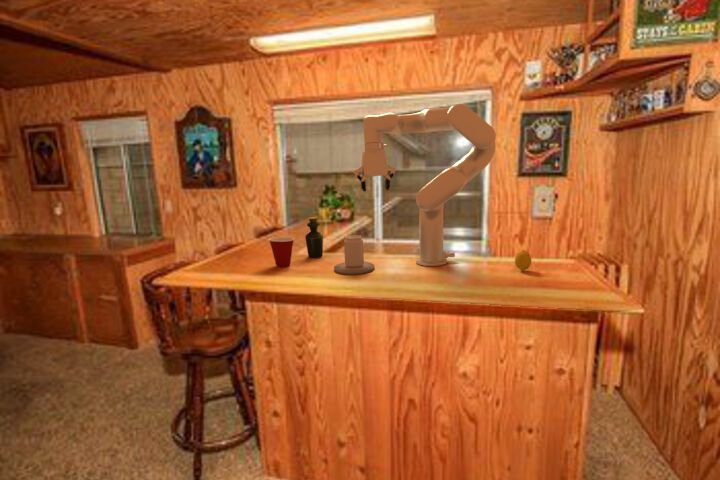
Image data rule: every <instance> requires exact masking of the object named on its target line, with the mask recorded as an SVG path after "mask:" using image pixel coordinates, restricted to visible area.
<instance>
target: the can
mask: <svg viewBox="0 0 720 480" xmlns="http://www.w3.org/2000/svg"><path fill="white" fill-rule="evenodd" d="M343 250H344V262H345V265H346V266H347V267H349V268H359V267H361V266H362V265H363V264H364V262H365V258H364V257H365V256H364V239H362V236H361V235H357V234H356V235H346V236H345V239H344V241H343Z"/></svg>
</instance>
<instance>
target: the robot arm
mask: <svg viewBox="0 0 720 480" xmlns="http://www.w3.org/2000/svg"><path fill="white" fill-rule="evenodd" d="M362 125H363V140H364V141H363V143H364V144H363V145H364V151H363V152H362V156H361V166H360V167H358V168H357V169H355V170H354V171H353V173H354V175H355V177H356V178H357V180H359V181H360V185H361V186H360V187H361V190H362V191H363V192H366V191H367V187H366V186H367V185H366V184H367V183H366V179H367V178H368V177H382V176H383V177H384V178H385V180H384V184H385V185H384V187H385V190H386V191H389V190H390V188H391V179H392V178H393V177H394V175H395V173H396V170H397V169H396V168H394V167H393V166H391V165H389V164H388V161H387V159H388V158H387V154H386V151H385V150H384V149H386V148H387V144H385V143H384V138H383V134H391V135H403V134H404V135H405V134H420V133H424V134H425V133H432V132H448V131H457V133H459V134H460V135H461V136H462V137H464V138H465V139H466V140H467V141H468V142H469V143H470V144H472V147H471V149H470V151H469V152H467V153H466V154H465V155H464V156H463V157H462V158H461V159H459V160H458V161H456V163H455V164H453V165H452V166H450V167H447V168H446V169H444V170H443V171H442V172H440V173H439V174H438V175H437V176H435V178H433V179H432V180H431V181H429V182H428V183H427V184H425V185H424V186H423V187H422V188H420V190H419V191H418V192H417V194H416V199H415V201H416V205H417V207H418V208H419V213H418V215H419V216H418V217H419V221H418V224H419V225H418V227H419V233H418V234H419V235H418V236H419V257H418V258H416V260H415V262H416V264H417V265H419V266H425V267H439V266H443V265H447V264H448V258H455V256H456V253H455V252H450V251H444V207H445V203H447V202H448V201H449V200H451V199H452V198H453V197H454V196H456V195H457V194H458V193H459V192H461V191H462V190H463V189H464V187H465V185H466V184H468V183H469V182H470V181H472V180H473V178H475V177H476V176H477V175H478V174H480V173H481V172H483V170H485V168H487V167H488V165H489V164H490V163H491V161H492V159H493V158H494V155H495V151H496V137H497V134H496V131H495V129H494V128H493V126H491V124H490V123H488V122H487V121H485V120H484V119H483V118H482V117H481V116H479V115H478V114H477V113H476V112H475V111H474V110H473V109H471V108H470V106H468V105H466V104H464V103H456V104H453V105H452V106H448V107H437V108H426V109H424V110H422V111H419V112H416V113H410V114H400V115H399V114H398V115H397V114H396V113H394V112H393V113H392V112H387V113H384V114H383V113H382V114H380V115H378V114H377V115H375V114H374V115H366V116H365V117H363V121H362ZM389 171H390V173H389V174H388V172H389ZM359 172H361V174H362V176H361V175H360V174H359Z"/></svg>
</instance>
